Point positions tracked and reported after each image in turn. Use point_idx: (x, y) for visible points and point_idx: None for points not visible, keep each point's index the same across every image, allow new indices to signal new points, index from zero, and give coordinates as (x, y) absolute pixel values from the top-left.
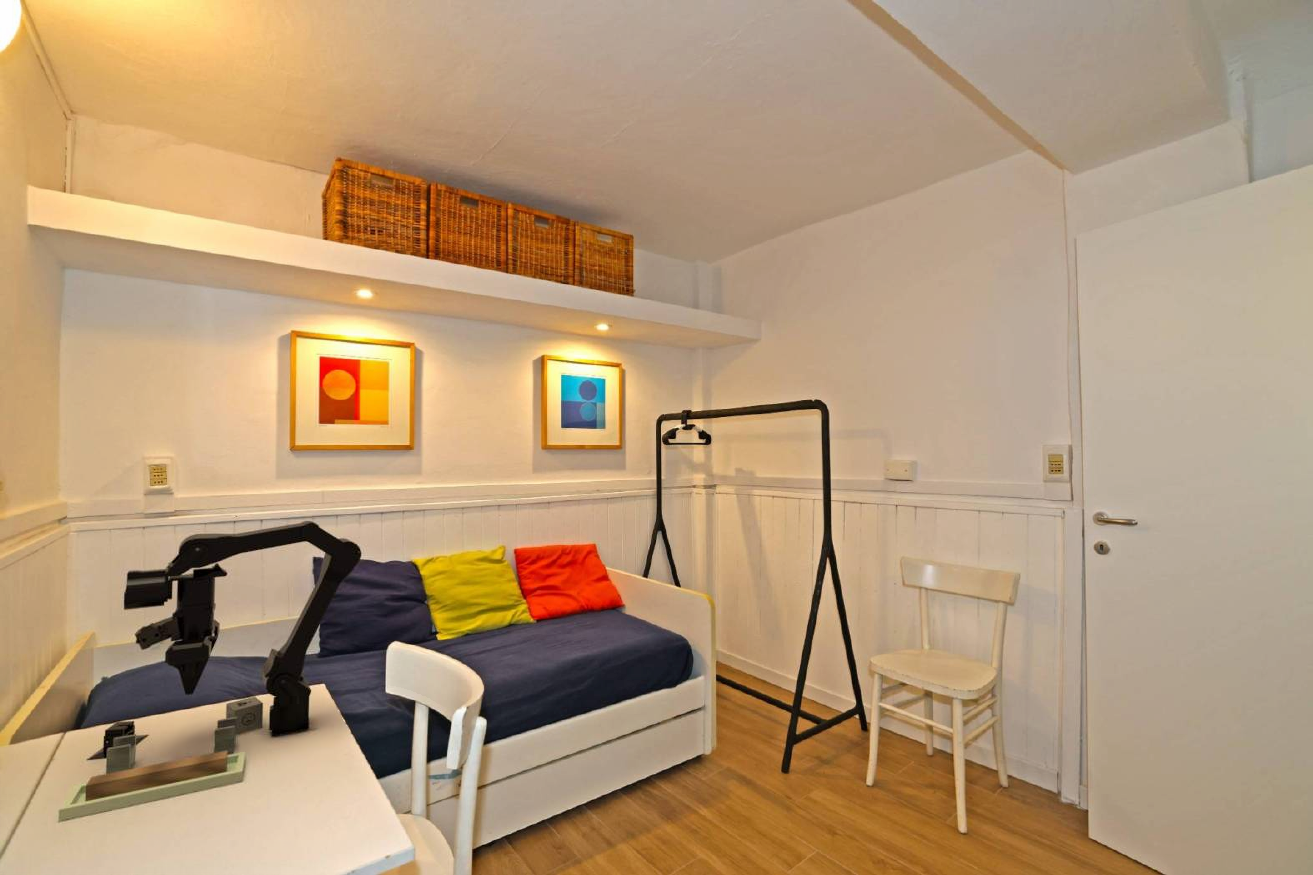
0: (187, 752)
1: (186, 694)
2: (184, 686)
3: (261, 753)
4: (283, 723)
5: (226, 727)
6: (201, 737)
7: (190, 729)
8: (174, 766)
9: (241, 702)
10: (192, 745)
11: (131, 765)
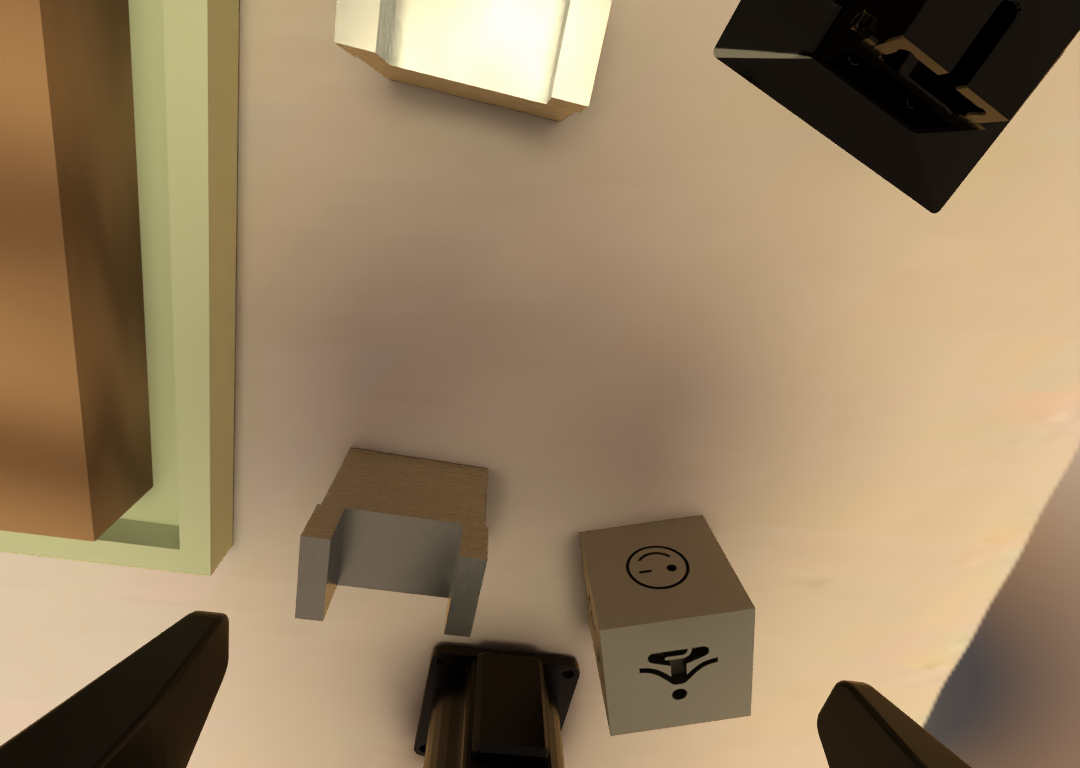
0: (512, 357)
1: (189, 617)
2: (47, 720)
3: (282, 597)
4: (438, 720)
5: (315, 586)
6: (667, 423)
7: (823, 390)
8: None
9: (707, 664)
10: (590, 382)
11: (457, 93)
